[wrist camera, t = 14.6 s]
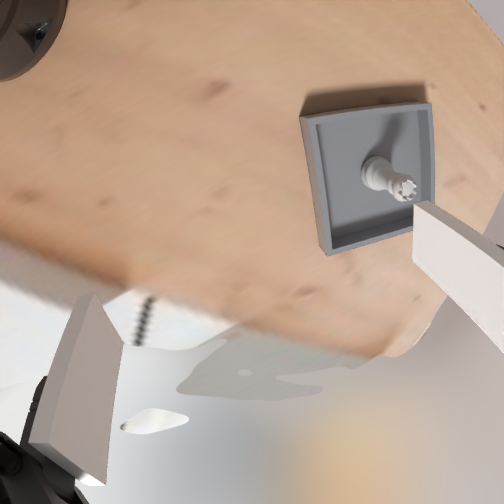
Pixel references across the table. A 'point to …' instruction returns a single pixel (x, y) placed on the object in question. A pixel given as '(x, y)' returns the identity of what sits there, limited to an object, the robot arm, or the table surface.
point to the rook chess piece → (387, 179)
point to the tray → (351, 163)
